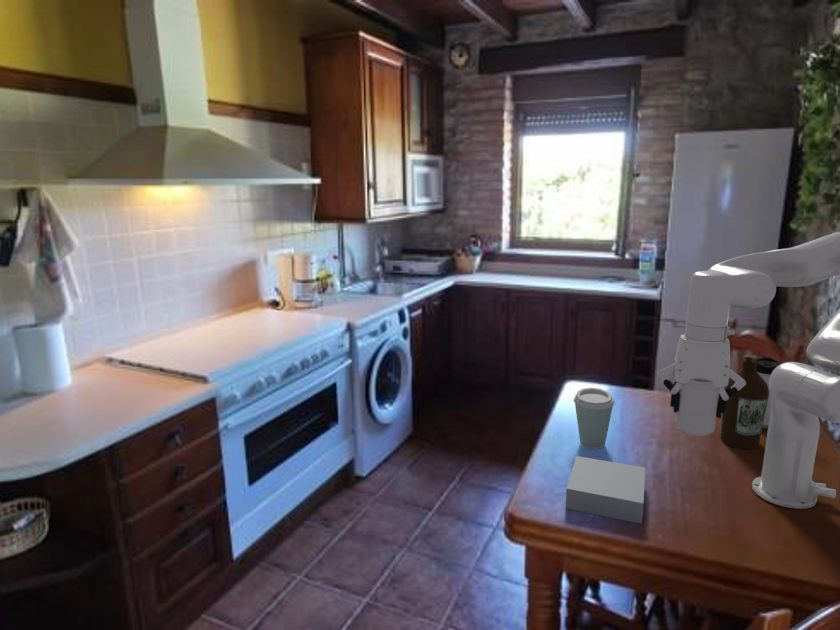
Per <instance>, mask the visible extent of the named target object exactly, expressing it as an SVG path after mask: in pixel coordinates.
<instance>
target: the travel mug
mask: <svg viewBox="0 0 840 630" xmlns="http://www.w3.org/2000/svg"><path fill="white" fill-rule="evenodd" d="M780 364H781V362H780V361H778V360H776V359H773V358H772V357H771V356H770V357H769V356H768V357H767V356H765V357H760V358H757V366H756V371H757V372H758V374H759V375H760V376H761V377H762V378H763V379H764V380H765V382H766V383H767V385H768V389H769V380H770V376H771V374H772V372H773V370H774V369H775V368H776V367H777V366H779V365H780ZM769 419H770V392H769V397H768V401H767V406H766V411H765V416H764V421H763V426H762V429H768V426H769Z"/></svg>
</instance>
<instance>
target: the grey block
mask: <svg viewBox="0 0 840 630" xmlns="http://www.w3.org/2000/svg"><path fill="white" fill-rule="evenodd" d="M645 479H646V467H644V466H639V465H633V464H626V463H620V462H614V461H610V460H601V459H595V458H590V457H584V456H578V455H576V456H575V458H574V462H573V466H572V468H571V472H570V475H569V479H568V482H567V486H566V488H565V489H566V490H565V491H566V493H565V509H567V510H571V511H577V512H581V513H586V514H592V515H596V516H601V517H606V518H610V519H611V518H612V519H615V520H621V521H626V522H630V523H636V524H641V525H642V523H643V517H644V516H643V514H644V504H645V503H644V501H645V481H646V480H645Z"/></svg>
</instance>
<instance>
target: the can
mask: <svg viewBox="0 0 840 630" xmlns="http://www.w3.org/2000/svg"><path fill="white" fill-rule="evenodd" d="M712 383H714V382H701V381H695V380H691V379H690V382H689V383H687V384H682V385H681V389H680V390H679V403H678V412H676V417H675V425H676V426H677V427H678V428H679V430H680V431H681V432H683V433H686V434H689V435H692V436H697V437H698V436H700V437H701V436H702V437H703V436H704V437H705V436H708V435H711V434H712V433H713V432H714V431H716V430H715V429H716V421H717V416H716V415H717V407H718V399H719V394H720V393H719V388H716V387H715V386H714V385H712Z"/></svg>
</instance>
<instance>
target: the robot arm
mask: <svg viewBox="0 0 840 630" xmlns="http://www.w3.org/2000/svg"><path fill="white" fill-rule="evenodd" d="M838 275H840V231H837V232H836V231H835V232H833V233H831V234H827V235H824V236H822V237H817V238H816V239H814V240H810V241H808V242H805V243H801V244H799V245H795V246H792V247H787V248H780V249H773V250H769V251H767V250H766V251H763V252H755V253H754V252H753V253H750V254H749V253H748V254H744V255H740V256H736V257H733V258H730V259H727V260H724V261H721V262H718V263H717V264H714V265H713V266H711V267H709V269H708V270H698V271H696V272H694V273H693V274H692V275H691V276H690V277H691V278H690V281H689V282H690V283H689V288H688V289H689V290H688V291H689V292H688V299H687V300H688V301H687V308H686V309H687V310H686V319H685V327H684V328H685V329H684V334H680V336H679V338H678V339H679V340H678V342H677V347H676V351H675V356H674V362H673V363H670V365H667V366H665V367H663V368H661V369H659V370H658V371H657V376H658V378H659V380H660V381H661V382H662V384H663V385H664V386H665V387H666V388H667V390H668V391H669V392H670V404H669V405H670V406H669V407H671V408H672V407H673V412H674V413H677V412H678V403H679V390H680V389H681V385H682V384H687V383H689V382H690V379H691V380H695V381H701V382H714V383H712V385H714V386H715V387H716V388H719V399H718V407H717V415H716V418H718V419H722V413H725V408H726V400H728V399H729V398H730V397H731V396H733V395H734V394H736V393H737V392H738V391H739V390H740V389H741V388H743V387H744V386H745V385H746V382H745V380H744V379H743V378H741V377H740V376H739V375H737V374H736V372H735V371H734V370H733V369H731V345H730V339H729V338H728V337H730V336H735V334H736V328H732V327H729V326H728V323H729V317H730V316H729V315H730V309H731V308H737V309H747V310H748V309H750V310H752V309H758V308H763V307H765V306H766V305H768V304H770V303H771V302H772V301H773V299H774V298H775V296H776V292H777V287H780V288H796V287H797V288H798V287H808V286H811V285H814V284H817V283H821V282H822V281H824V280H828V279H830V278H833V277H836V276H838ZM805 352H806V353H805V354H806V357H807V359H808V360H809V361H810V362H811V363H812V364H814V365H816V366H817V367H815V366H812V365H810V364H808V363H807V364H806V363H802V362H797V361H787V362H783V363H780V365H779V366H777V367H776V368H775V369H774V370H773V372H772V374H771V376H770V380H769V392H770V419H769V426H768V428H767V433H766V440H765V446H764V447H765V448H764V454H763V455H764V456H763V459H762V460H763V462H762V468H761V475H760V476H758V477H755V478H754V479H753V481H752V483H751V487H752V490H753V491H754V493H755V494H756V495H757V496H759V497H760V498H761V499H763V500H765V501H767V502H770V503H771V504H774V505H777V506H780V507H783V508H784V507H785V508H789V509H795V510H796V509H797V510H804V509H810V508H812V507H814V506H816V504H817V502H818V497H819V496H823V497H826V498H827V497H828V498H833V499H836V497H837V490H836V489H834V488H829V487H827V484H826V483H821V482H815V481H814V480H813V479H812V478H813V472H814V467H815V463H816V462H815V461H816V455H817V449H818V442H819V439H820V431H821V430H820V429H821V428H820V427H821V426H820V420H819V418H820V419H822V420H825V421H827V422H829V423H830V422H831V423H835V424H840V307H839V308H838V310H837V311H836V312H835V313H834V315H833V316H832V317H831V318H830V319H829V320H828V321H827V323H825V324H824V326H823V327H822V328H821V329H820V330H819V331H818V333H816V335H815V336H814V337H813V338H812V340H811V341H810V342H809V343H808V345H807V348H806V351H805ZM818 367H820V368H818ZM821 368H822V369H821ZM826 370H827V371H826ZM829 371H830V372H829ZM832 372H833V373H832ZM671 373H672V374H673V377H674V382H672V381H671V380H670V378H668V376H667V375H669V374H671ZM835 373H836V374H835ZM838 374H839V375H838ZM729 377H730V378H731V379H732V380H734V381H735V384H734V385H732V386H730V387H729V388H727V389H726V390H725V387H727V386H728V383H729Z"/></svg>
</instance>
